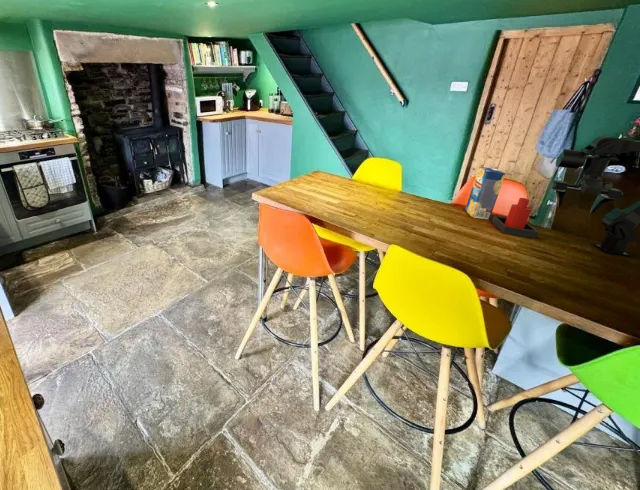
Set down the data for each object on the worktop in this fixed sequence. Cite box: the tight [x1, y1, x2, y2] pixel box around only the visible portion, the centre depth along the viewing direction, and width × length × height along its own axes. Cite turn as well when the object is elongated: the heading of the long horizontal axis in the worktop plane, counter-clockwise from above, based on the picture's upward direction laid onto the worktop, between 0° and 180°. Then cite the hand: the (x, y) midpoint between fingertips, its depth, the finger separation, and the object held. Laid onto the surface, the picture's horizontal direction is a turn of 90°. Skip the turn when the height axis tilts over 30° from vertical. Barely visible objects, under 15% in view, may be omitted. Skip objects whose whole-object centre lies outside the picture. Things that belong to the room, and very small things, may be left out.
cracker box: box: [464, 166, 507, 221], centre depth 141 cm, size 7×11×22 cm, turn 162°
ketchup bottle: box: [505, 197, 533, 229], centre depth 126 cm, size 6×6×14 cm
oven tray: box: [491, 215, 539, 239], centre depth 128 cm, size 13×11×3 cm
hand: (574, 210), depth 116 cm, fingers open, 9 cm apart
